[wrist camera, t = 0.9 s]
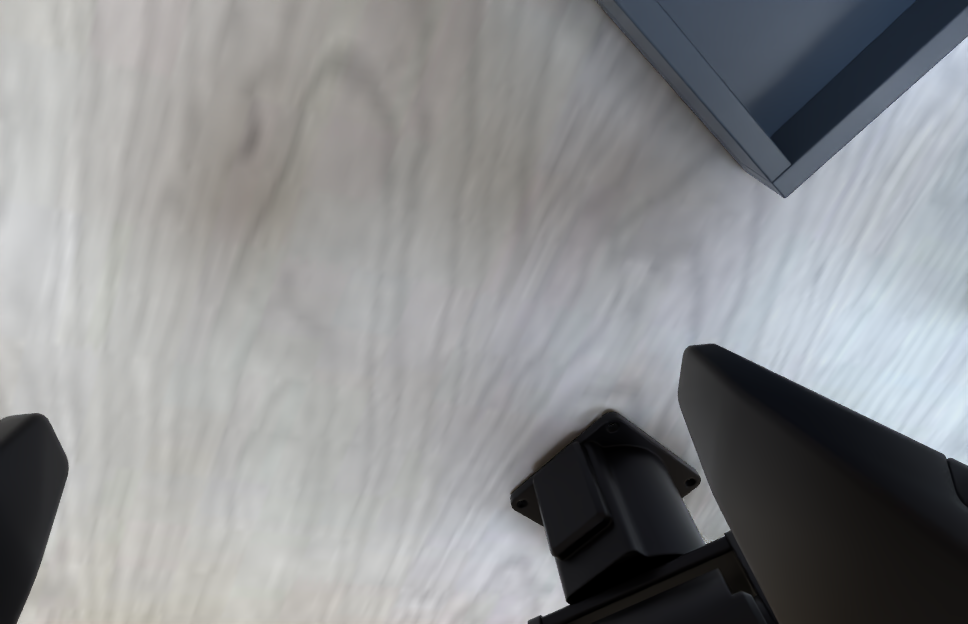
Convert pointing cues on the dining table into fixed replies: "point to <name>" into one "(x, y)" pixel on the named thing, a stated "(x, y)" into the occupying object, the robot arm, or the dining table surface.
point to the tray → (790, 68)
